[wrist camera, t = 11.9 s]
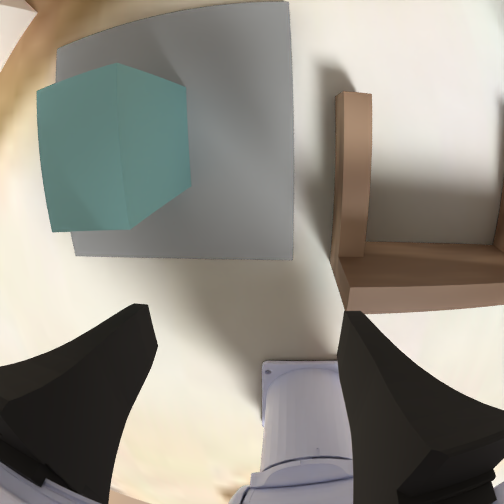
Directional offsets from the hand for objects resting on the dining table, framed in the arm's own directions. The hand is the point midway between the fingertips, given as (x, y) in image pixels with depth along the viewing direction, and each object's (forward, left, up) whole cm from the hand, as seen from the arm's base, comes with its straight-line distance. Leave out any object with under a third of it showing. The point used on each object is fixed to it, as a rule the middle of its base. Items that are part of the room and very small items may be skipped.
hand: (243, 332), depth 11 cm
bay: (+4, -12, -9) cm, 16 cm away
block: (+7, +6, -9) cm, 12 cm away
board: (+7, +6, -9) cm, 13 cm away
